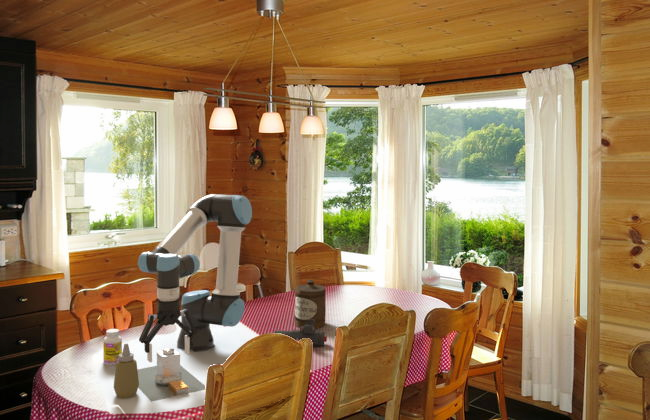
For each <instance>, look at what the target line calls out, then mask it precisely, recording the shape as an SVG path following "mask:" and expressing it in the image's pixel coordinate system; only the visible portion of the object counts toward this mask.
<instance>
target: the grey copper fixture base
mask: <svg viewBox="0 0 650 420" xmlns="http://www.w3.org/2000/svg"><path fill="white" fill-rule="evenodd" d="M155 384H156V385H158V386H163V387H168V388H169V389H170V390H171V391H172V392H173V393H174V394H175V395H176V396H175V397H177V396H182V394H183V395H186V394H189V393H188V386H187V385H185V384H184V383H183V382H182V381H181V372H180V376H177V377H172V378H167V379H162V378H161V377H160V376H159V375H158V374H156V375H155Z"/></svg>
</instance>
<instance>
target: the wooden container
mask: <svg viewBox="0 0 650 420" xmlns="http://www.w3.org/2000/svg"><path fill="white" fill-rule="evenodd" d="M306 283H307V284H299V285H297V286H296V287H295V288H294V295H295V298H294V299H295V300H294V302H295V303H294V325H295V326H296V327H298V328H300V327H301V326H304V325H306V319H312V320H315V324H314V330H315V329H320V328H323V327H324V326H326V311H327V309H326V308H327V307H326V287H325V286H323V285H320V284H315V281H314V280H313V279H308V280H307V281H306Z"/></svg>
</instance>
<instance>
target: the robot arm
mask: <svg viewBox="0 0 650 420" xmlns="http://www.w3.org/2000/svg"><path fill="white" fill-rule="evenodd" d="M252 208H253V207H252V205H251V201H250V200H249V198H247V197H246V196H245V195H239V194H217V193H211V194H208V195H205V196H203V197H201V198H200V199H198V200H196V201H195V202H194V203H192V204H191V205H190V206H189V207H188V209H186V211H185V215H184V216H183V217H182V218H181V220H180V221H179V222H178V223H177V224H176V225H175V226H174V227H173V228H172V229H171V230H170V231H169V232H168V233H167V234H166V235H165V237H163V239H162V240H161V241H160V242H159V243H158V244H157V245H156V246H155V248H154V249H153V250H152V251H144V252H141V254H140V255H139V256H138V259H137V266H138V268H139V270H140V271H141V272H142V273H148V274H156V279H157V284H156V285H157V286H156V290H157V291H156V298H157V303H156V304H157V305H156V307H157V309H156V310H157V313H156V314H152V313H149V314H148V315H147V321H146V323H145V325H144V327H143V330H142V331H141V334H140V336H139V338H138V341H139V342H140V343H141V344H144V352H145V353H146V354H147V355H146V356H147V357H146V358H147V359H146V360H147V361H148V362H149V363H152V362H153V343H152V340H153V339H154V338H155V337H156V335H157V334H158V332H159V331H160V330H161V328H163V327H164V326H165V327H167V326H171V325H172V326H173V325H174V324H176V325H177V326H178V327H179V328H180V331H179V334H178V338H177V341H176V347H177V348H178V349H179V350H180V349H182V350H184V354H186V355H187V356H188V355H189V356H190V351H193V352H199V351H207V350H209V349H211V348H213V346H215V345H214V341H215V340H214V336H213V334H212V330H211V327H210V325H215V326H216V325H217V326H222V327H224V328H225V327H233V328H234V327H235V326H237V325H238V324H240V322H241V320H242V319H243V316H244V313H245V309H246V308H245V301H244V299H241V296H240V295H241V293H240V292H239V291H238V289H237V288H238V279H239V277H238V276H239V267H240V265H239V264H240V254H241V243H242V242H241V241H242V232H244V230H245V229H246V225H248V224H249V223H250V222H251V221H252V217H253V209H252ZM211 222H212V223H213V222H215V223H216V222H217V224H216V225H217V226H216V227H217V228H218V229H219V231H220V235H219V246H218V257H217V268H216V269H217V270H216V271H217V272H216V281H215V282H216V283H215V288H214V290H213V291H210V290H209V289H208V290H207V289H203V290H202V289H199V290H192V291H188V292H185V293H184V294H183V295H182V297H181V301H180V279H183V278H185V277H188V276H192V275H194V274H195V273H197V272H198V271H199V270H200V267H201V265H200V259H199V258H198V256H196V255H195V254H194V253H185V254H184V255H183V254H182V255H181V254H178V253H179V252H180V250H181V249H182V248H184V246H185V245H186V244H187V242H188V241H189V240H190V239H191V238H192V237H193V236H194V234H195V233H197V231H198V230H199V229H200V228H202V227H205V226H206V225H207V224H208V223H211ZM210 292H211V293H210ZM180 302H181V303H180ZM180 305H181V307H180ZM180 308H181V310H180ZM180 316H181V320H179V318H180ZM156 319H157V321H156ZM154 321H156V322H155V325H154V326H153V324H154ZM152 326H153V327H152Z"/></svg>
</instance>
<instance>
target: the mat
mask: <svg viewBox="0 0 650 420" xmlns="http://www.w3.org/2000/svg"><path fill="white" fill-rule="evenodd" d="M137 371H138V379H139V386H138V389H139V390H140V391H141V392H142V393H143V394H144V395H145V396H146V397H147V399H148V400H149V401H150V402H156V401H159V400H163V399H164V400H165V399H168V398H174V397H177V396H176V395H175V394H174V393H173V392H172V391H171V390H170V389H169V388H168V387H163V386H158V385H156V384H155V375H156V374H157V365H154V366H148V367H144V368H137ZM180 372H181V381H182V382H183V383H184V384H185V385H187V386H188V393H187V394H190V393H191V394H192V393H195V392H200V391H205V390H206V389H205V386H206V385H205V384H204V383H202V382H201V381H200V380H199V379H197V377H195V376H194V375H193V373H191V372H189V371H188V370H187V369H186V368H184V367H183V366H182V365H181V364H180ZM182 395H184V394H182ZM182 395H181V396H182Z"/></svg>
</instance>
